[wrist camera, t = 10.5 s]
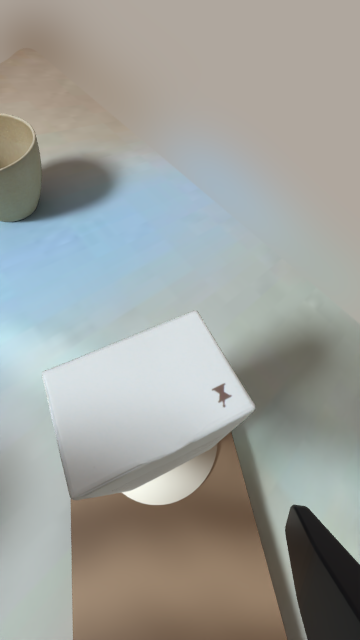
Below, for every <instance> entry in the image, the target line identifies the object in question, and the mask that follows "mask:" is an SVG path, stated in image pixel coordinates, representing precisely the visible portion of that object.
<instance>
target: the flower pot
mask: <svg viewBox="0 0 360 640" xmlns="http://www.w3.org/2000/svg"><path fill="white" fill-rule="evenodd" d="M41 181H42V170H41V159H40V152H39V147H38V142H37V138H36V135H35V131H34V129H33V128H32V126H31V125H30V124H29V123H28V122H26V121H25V120H23V119H21V118H19V117H17V116H13V115H9V114H3V113H0V221H4V222H14V221H18V220H21V219H24V218H26V217H28V216H29V215H31V214H32V213H33V212H34V211H35V209H36V207H37V204H38V201H39V197H40V191H41Z"/></svg>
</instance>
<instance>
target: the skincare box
mask: <svg viewBox="0 0 360 640" xmlns="http://www.w3.org/2000/svg"><path fill="white" fill-rule="evenodd" d="M42 378H43V382H44V387H45V391H46V396H47V400H48V404H49V409H50V413H51V417H52V422H53V426H54V430H55V434H56V439H57V444H58V448H59V453H60V457H61V461H62V465H63V469H64V474H65V478H66V482H67V486H68V491H69V495H70V498H71V499H72V500H81V499H86V498H93V497H99V496H105V495H110V494H115V493H121V492H127V491H132V490H134V489H136V488H138V487H140V486H142V485H144V484H146V483H148V482H150V481H152V480H153V479H155V478H157V477H159V476H161V475H163V474H165V473H167V472H169V471H171V470H173V469H174V468H176V467H178V466H180V465H182V464H184V463H186V462H187V461H189V460H191V459H193V458H195V457H197V456H198V455H200V454H202V453H204V452H206V451H208V450H210V449H211V448H212V447H214V446H215V445H216V444H217V443H218V442H219V441H220V440H222V439H223V438H224V437H225V436H226V435H227V434H229V433H230V432H231V431H232V430H233V429H234V428H236V427H237V426H238V425H239V424H241V423H242V422H243V421H244V420H245V419H246V418H248V417H249V415H250V414H251V413H253V412H254V410H255V408H256V406H255V404H254V402H253V401H252V399H251V397H250V396H249V394H248V393H247V391H246V389H245V388H244V386H243V385H242V383H241V381H240V380H239V378H238V377H237V375H236V373H235V372H234V370H233V368H232V367H231V365H230V364H229V362H228V360H227V359H226V357H225V355H224V354H223V352H222V351H221V349H220V347H219V346H218V344H217V342H216V341H215V339H214V337H213V336H212V334H211V332H210V331H209V329H208V328H207V326H206V324H205V323H204V321H203V319H202V318H201V316H200V314H199V313H198V311H192V312H189V313H187V314H184V315H182V316H179V317H177V318H174V319H172V320H169V321H167V322H164V323H162V324H159V325H157V326H154V327H152V328H149V329H147V330H145V331H142V332H140V333H137V334H135V335H132V336H130V337H127V338H125V339H123V340H120V341H118V342H115V343H113V344H111V345H108V346H106V347H103V348H101V349H98V350H96V351H93V352H91V353H88V354H86V355H84V356H81V357H79V358H76V359H74V360H71V361H69V362H66V363H64V364H61V365H59V366H56V367H54V368H51V369H48V370H45V371H43V372H42Z"/></svg>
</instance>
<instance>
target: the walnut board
mask: <svg viewBox="0 0 360 640" xmlns="http://www.w3.org/2000/svg"><path fill="white" fill-rule="evenodd" d="M71 544H72V606H73V640H287V636H286V632H285V629H284V625H283V621H282V617H281V614H280V610H279V606H278V603H277V599H276V595H275V592H274V588H273V584H272V581H271V577H270V573H269V570H268V566H267V562H266V558H265V555H264V551H263V547H262V544H261V540H260V536H259V533H258V529H257V525H256V522H255V518H254V514H253V511H252V507H251V503H250V499H249V496H248V492H247V488H246V485H245V481H244V477H243V474H242V470H241V466H240V463H239V459H238V455H237V451H236V448H235V444H234V440H233V437H232V433H231V432H230V433H229V434H227V435H226V436H225V437H224V438H223V439H222V440H220V441H219V442H218V443H217V444H216V445H215V446H214V447H212V448H211V449H210V450H208V451H206V452H204V453H202V454H200V455H198V456H197V457H195V458H193V459H191V460H189V461H187V462H186V463H184V464H182V465H180V466H178V467H176V468H174V469H173V470H171V471H169V472H167V473H165V474H163V475H161V476H159V477H157V478H155V479H153V480H152V481H150V482H148V483H146V484H144V485H142V486H140V487H138V488H136V489H134V490H132V491H127V492H121V493H115V494H110V495H105V496H99V497H93V498H86V499H81V500H72V499H71Z"/></svg>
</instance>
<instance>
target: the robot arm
mask: <svg viewBox="0 0 360 640" xmlns="http://www.w3.org/2000/svg"><path fill="white" fill-rule="evenodd" d="M285 533H286V540H287V546H288V551H289V557H290V562H291V568H292V574H293V579H294V585H295V591H296V596H297V601H298V605H299V609H300V613H301V617H302V621H303V624H304V628H305V632H306V635H307V639H308V640H360V565H359V563H358V562H357V561H356V560H355V559H354V558H353V557H352V556H351V555H350V554H349V552H348V551H347V550H346V549H345V548H344V547H343V546H342V545H341V544H340V543H339V541H338V540H337V539H336V538H335V537H334V536H333V535H332V534H331V533H330V531H329V530H328V529H327V528H326V527H325V526H324V525H323V524H322V523H321V522H320V520H319V519H318V518H317V517H316V516H315V515H314V514H313V513H312V512H311V511H310V509H309V508H307V507H306V506H300V505H292V506H291V508H290V512H289V515H288V519H287V523H286V528H285Z"/></svg>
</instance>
